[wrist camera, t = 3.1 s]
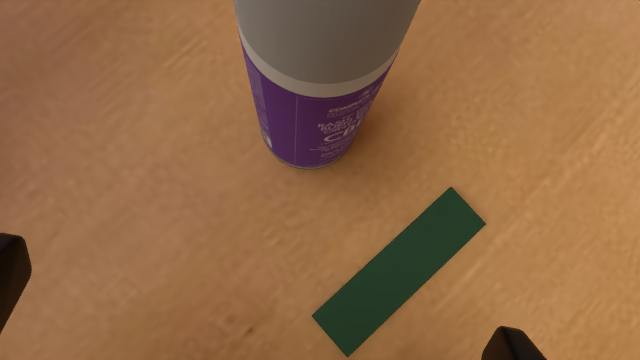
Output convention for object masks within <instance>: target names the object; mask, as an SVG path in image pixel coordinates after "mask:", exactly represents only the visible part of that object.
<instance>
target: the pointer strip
mask: <svg viewBox="0 0 640 360" xmlns="http://www.w3.org/2000/svg"><path fill="white" fill-rule="evenodd" d="M485 225H486V223H485V222H484V221H483V220H482V219H481V218H480V217H479V216H478V215H477V214H476V213H475V212H474V211H473V209H472V208H471V207H470V206H469V205H468V204H467V203H466V202H465V201H464V200H463V199H462V198H461V197H460V195H459V194H458V193H457V192H456V191H455V190H454V189H453V188H452V187H450V188H449V189H448V190H447V191H446V192H445V193H444V194H442V195H441V196H440V197H439V198H438V199H437V200H436V201H435V202H434V203H433V204H432V205H431V206H430V207H428V208H427V209H426V210H425V211H424V212H423V213H422V214H421V215H420V216H419V217H418V218H417V219H416V220H414V221H413V222H412V223H411V224H410V225H409V226H408V227H407V228H406V229H405V230H404V231H403V232H401V233H400V234H399V235H398V236H397V237H396V238H395V239H394V240H393V241H392V242H391V243H390V244H389V245H387V246H386V247H385V248H384V249H383V250H382V251H381V252H380V253H379V254H378V255H377V256H376V257H374V258H373V259H372V260H371V261H370V262H369V263H368V264H367V265H366V266H365V267H364V268H363V269H362V270H360V271H359V272H358V273H357V274H356V275H355V276H354V277H353V278H352V279H351V280H350V281H349V282H348V283H346V284H345V285H344V286H343V287H342V288H341V289H340V290H339V291H338V292H337V293H336V294H335V295H333V296H332V297H331V298H330V299H329V300H328V301H327V302H326V303H325V304H324V305H323V306H322V307H321V308H319V309H318V310H317V311H316V312H315V313H314V314H313V315H312V317H313V318H314V319H315V320H316V322H317V323H318V324H319V325H320V326H321V327H322V328H323V330H324V331H325V332H326V333H327V334H328V335H329V337H330V338H331V339H332V340H333V341H334V342H335V344H336V345H337V346H338V347H339V348H340V349H341V350H342V352H343V353H344V354H345V355H346V356H347V357H348V356H349V355H350V354H351V353H352V352H353V351H354V350H355V349H356V348H357V347H359V346H360V345H361V344H362V343H363V342H364V341H365V340H366V339H367V338H368V337H369V336H370V335H371V334H372V333H373V332H374V331H375V330H376V329H377V328H378V327H379V326H380V325H381V324H382V323H384V322H385V321H386V320H387V319H388V318H389V317H390V316H391V315H392V314H393V313H394V312H395V311H396V310H397V309H398V308H399V307H400V306H401V305H402V304H403V303H404V302H405V301H406V300H407V299H408V298H410V297H411V296H412V295H413V294H414V293H415V292H416V291H417V290H418V289H419V288H420V287H421V286H422V285H423V284H424V283H425V282H426V281H427V280H428V279H429V278H430V277H431V276H432V275H433V274H435V273H436V272H437V271H438V270H439V269H440V268H441V267H442V266H443V265H444V264H445V263H446V262H447V261H448V260H449V259H450V258H451V257H452V256H453V255H454V254H455V253H456V252H457V251H458V250H460V249H461V248H462V247H463V246H464V245H465V244H466V243H467V242H468V241H469V240H470V239H471V238H472V237H473V236H474V235H475V234H476V233H477V232H478V231H479V230H480V229H481V228H482V227H483V226H485Z"/></svg>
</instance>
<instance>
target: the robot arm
mask: <svg viewBox="0 0 640 360" xmlns="http://www.w3.org/2000/svg"><path fill="white" fill-rule="evenodd" d="M31 271H32V267H31V262H30V258H29V254H28V250H27V246H26V242H25V240H24V239H23V238H22V237H21V236H18V235H12V234H7V233H0V334H1V332H2V330H3V328H4V326H5V324H6V322H7V320H8V319H9V317H10V315H11V313H12V311H13V309H14V307H15V305H16V304H17V302H18V300H19V298H20V296H21V294H22V292H23V290H24V289H25V287H26V285H27V283H28V281H29V279H30V276H31ZM481 360H547V359H546V358H545V357H544V356H543V354H542V353H541V352H540V351H539V350H538V348H537V347H536V346H535V345H534V344H533V342H532V341H531V340H530V339H529V337H528V336H527V335H526V334H525V333H524V332H523V331H522V330H520V329H516V328H511V327H506V326H500V327H498V328H497V329H496V331H495V332H494V334H493V336H492V337H491V339H490V341H489V342H488V344H487V346H486V347H485V349H484V351H483V353H482V358H481Z"/></svg>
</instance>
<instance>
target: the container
mask: <svg viewBox="0 0 640 360" xmlns="http://www.w3.org/2000/svg"><path fill="white" fill-rule="evenodd" d="M420 1H421V0H234V5H235V11H236V17H237V23H238V30H239V35H240V40H241V44H242V49H243V53H244V58H245V62H246V66H247V71H248V75H249V80H250V84H251V88H252V93H253V97H254V102H255V106H256V110H257V115H258V119H259V124H260V128H261V132H262V135H263V138H264V141H265V143H266V145H267V146H268V148H269V149H270V151H271V152H272V153H273V154H274V155H275V156H276V157H277V158H278V159H279V160H281V161H282V162H284V163H286V164H288V165H290V166H293V167H296V168H301V169H317V168H322V167H325V166H327V165H330V164H332V163H333V162H335V161H336V160H338V159H339V158H340V157H342V156H343V154H344V153H345V152H346V151H347V150H348V148H349V147H350V145H351V143H352V142H353V140H354V138H355V136H356V134H357V132H358V130H359V128H360V126H361V124H362V122H363V120H364V118H365V116H366V114H367V112H368V110H369V108H370V106H371V104H372V102H373V101H374V99H375V97H376V95H377V93H378V91H379V89H380V87H381V85H382V83H383V81H384V79H385V77H386V75H387V73H388V71H389V69H390V67H391V65H392V63H393V61H394V60H395V58H396V56H397V54H398V51H399V49H400V46H401V44H402V42H403V39H404V37H405V35H406V32H407V30H408V28H409V26H410V23H411V21H412V19H413V17H414V14H415V12H416V10H417V8H418V5H419V3H420Z"/></svg>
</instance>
